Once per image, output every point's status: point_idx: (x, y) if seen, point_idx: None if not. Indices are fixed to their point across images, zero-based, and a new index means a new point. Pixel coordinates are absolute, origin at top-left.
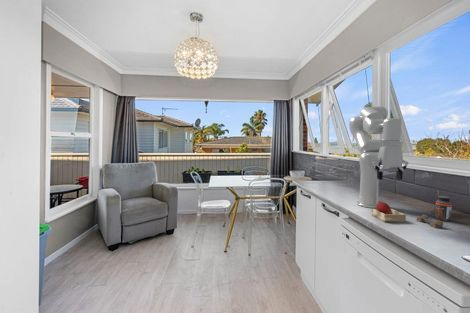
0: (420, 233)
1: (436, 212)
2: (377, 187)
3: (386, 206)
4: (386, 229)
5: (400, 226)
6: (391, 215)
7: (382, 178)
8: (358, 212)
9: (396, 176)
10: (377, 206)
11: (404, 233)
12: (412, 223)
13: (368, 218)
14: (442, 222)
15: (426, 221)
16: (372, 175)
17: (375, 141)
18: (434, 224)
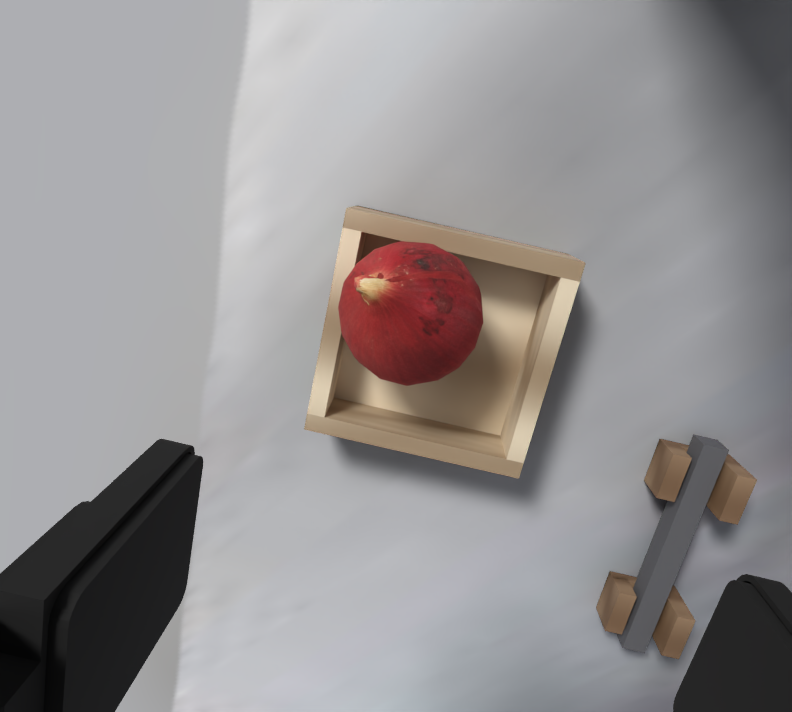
0: (372, 646)
1: None
2: None
3: (394, 378)
4: (196, 531)
5: (361, 513)
6: (372, 441)
7: (168, 618)
8: (300, 50)
9: (758, 623)
10: (343, 291)
11: (261, 617)
12: (532, 488)
13: (253, 272)
14: (671, 654)
15: (659, 528)
16: None
17: None
18: (604, 622)
